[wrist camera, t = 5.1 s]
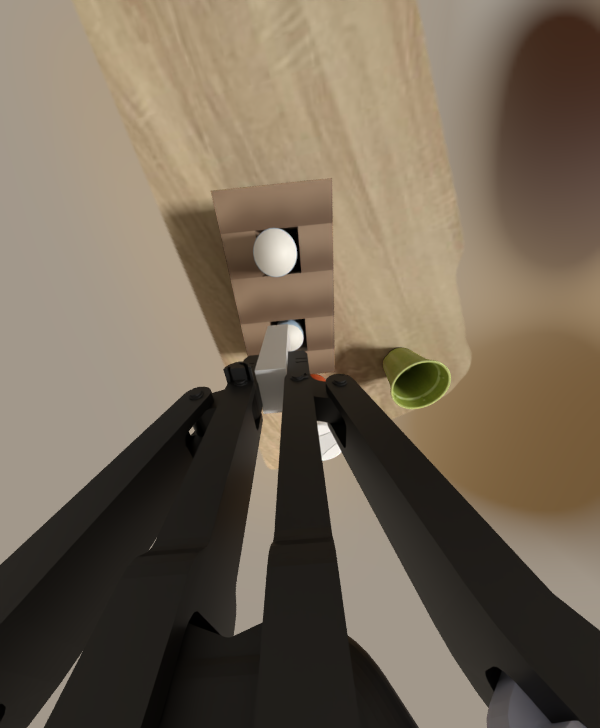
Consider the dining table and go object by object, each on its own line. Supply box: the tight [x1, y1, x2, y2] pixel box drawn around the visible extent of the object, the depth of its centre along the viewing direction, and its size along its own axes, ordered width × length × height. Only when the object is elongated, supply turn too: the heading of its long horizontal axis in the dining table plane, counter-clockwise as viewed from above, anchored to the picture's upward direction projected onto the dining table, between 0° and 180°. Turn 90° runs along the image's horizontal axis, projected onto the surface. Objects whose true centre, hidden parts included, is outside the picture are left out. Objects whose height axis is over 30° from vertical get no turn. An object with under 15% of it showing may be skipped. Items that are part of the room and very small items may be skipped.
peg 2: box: [277, 319, 304, 351], centre depth 33 cm, size 4×4×10 cm
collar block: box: [211, 178, 335, 374], centre depth 31 cm, size 22×12×10 cm, turn 5°
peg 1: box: [253, 228, 297, 277], centre depth 23 cm, size 4×4×10 cm
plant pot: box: [383, 348, 451, 409], centre depth 39 cm, size 9×9×9 cm
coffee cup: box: [310, 374, 341, 461], centre depth 38 cm, size 8×8×15 cm
